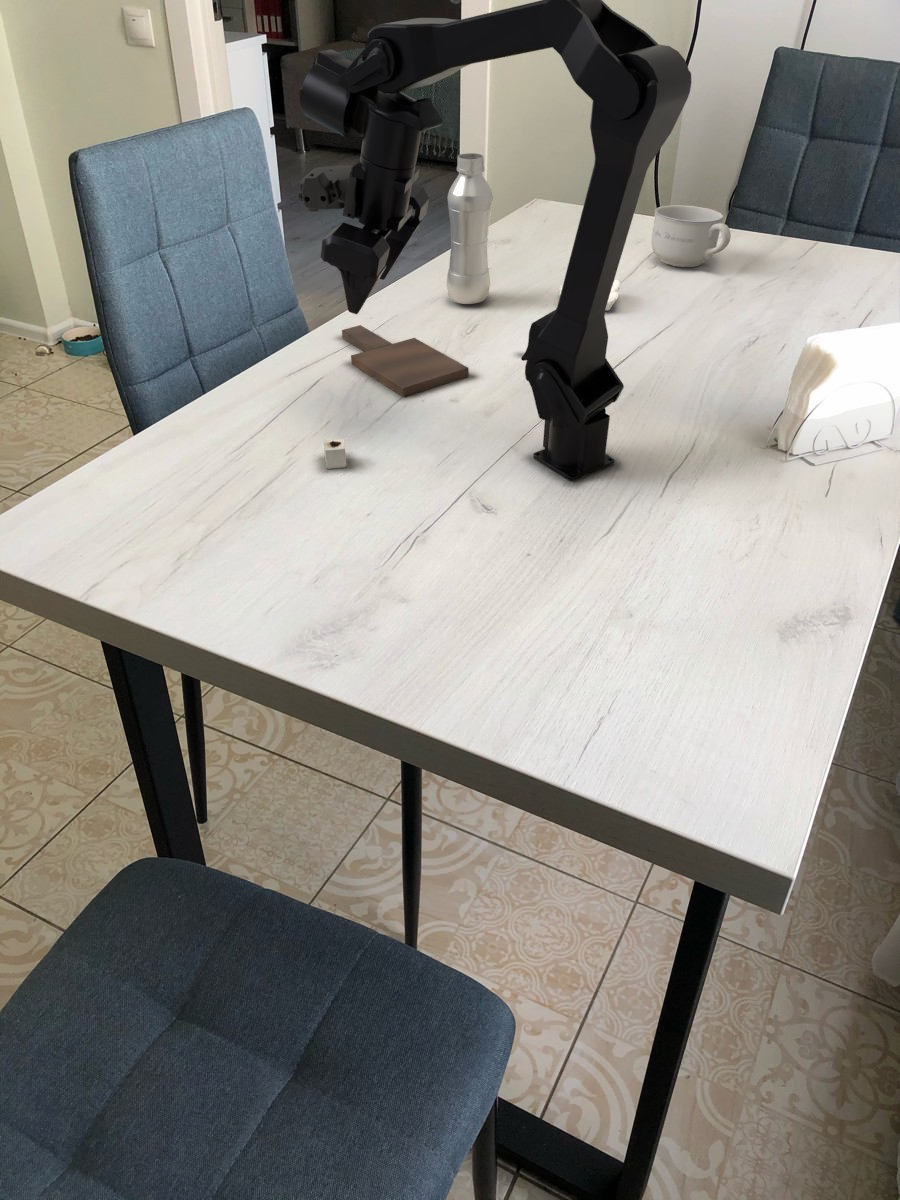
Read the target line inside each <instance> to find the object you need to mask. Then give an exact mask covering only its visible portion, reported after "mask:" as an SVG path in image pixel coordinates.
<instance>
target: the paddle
mask: <svg viewBox="0 0 900 1200" xmlns="http://www.w3.org/2000/svg"><path fill="white" fill-rule="evenodd" d="M341 337H342V339H343V340H344V341H346V342H348V343H350V344H351V345H353V346H355V347H356V348H358V349H359V350H361V351H362V352H359V353H354V354H352V355H350V363H351V365H352V366H354V367H356V368H357V369H359V370H360V371H362V372H363V373H365V374H367V375H368V376H369V377H371V378H373V379H374V380H376V381H378V382H379V383H381V384H383V385H384V386H385V387H387V388H389V389H390V390H392V391H393V392H395V393H397V394H398V395H400V396H401V397H403V398H404V397H407V396H411V395H414V394H417V393H420V392H424V391H427V390H430V389H433V388H436V387H440V386H442V385H445V384H448V383H449V384H450V383H452V382H455V381H458V380H462V379H465V378H467V377H469V367H468V366H466V365H464V364H462V363H461V362H459V361H457V360H456V359H454V358H452V357H450V356H449V355H446V354H445V353H442V352H441V351H439V350H437V349H436V348H434V347H432V346H430V345H428V344H427V343H425V342H424V341H421V340H420V339H418V338H416V337H412V338H408V339H405V340H401V341H397V342H394V343H392V342H391V341H389V340H387V339H386V338H384V337H382V336H380V335H379V334H377V333H375V332H373V331H372V330H370V329H369V328H367V327H364V325H361V324H360V325H356V326H351V327H346V328H344V329H341Z"/></svg>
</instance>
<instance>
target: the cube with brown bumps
mask: <svg viewBox="0 0 900 1200" xmlns="http://www.w3.org/2000/svg"><path fill="white" fill-rule="evenodd" d="M323 448H324V460H325V467H326V469H327V470H330V469H340V468H347V458H346V447H345V441H344V438H342V439H330V440H323Z"/></svg>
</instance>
